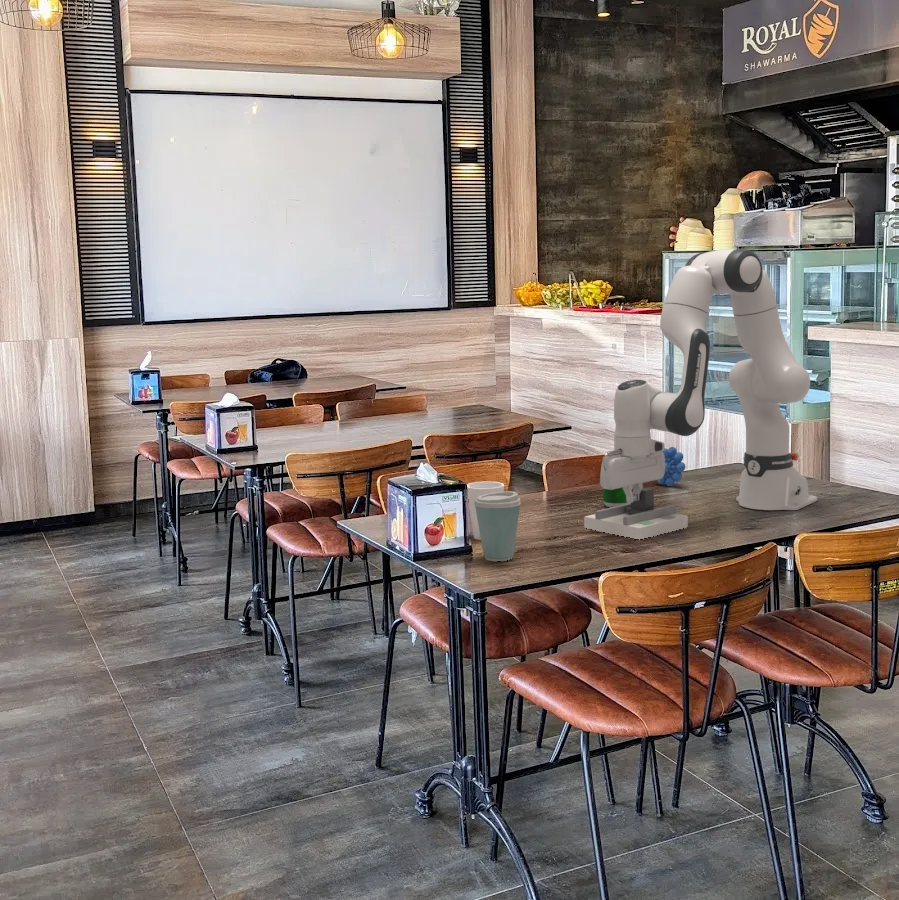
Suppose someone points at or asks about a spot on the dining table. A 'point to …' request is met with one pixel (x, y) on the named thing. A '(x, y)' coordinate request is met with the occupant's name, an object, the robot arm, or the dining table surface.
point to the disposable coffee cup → (498, 524)
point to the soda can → (614, 497)
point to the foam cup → (476, 491)
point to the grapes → (672, 466)
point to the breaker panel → (636, 521)
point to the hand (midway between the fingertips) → (632, 501)
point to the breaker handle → (642, 502)
